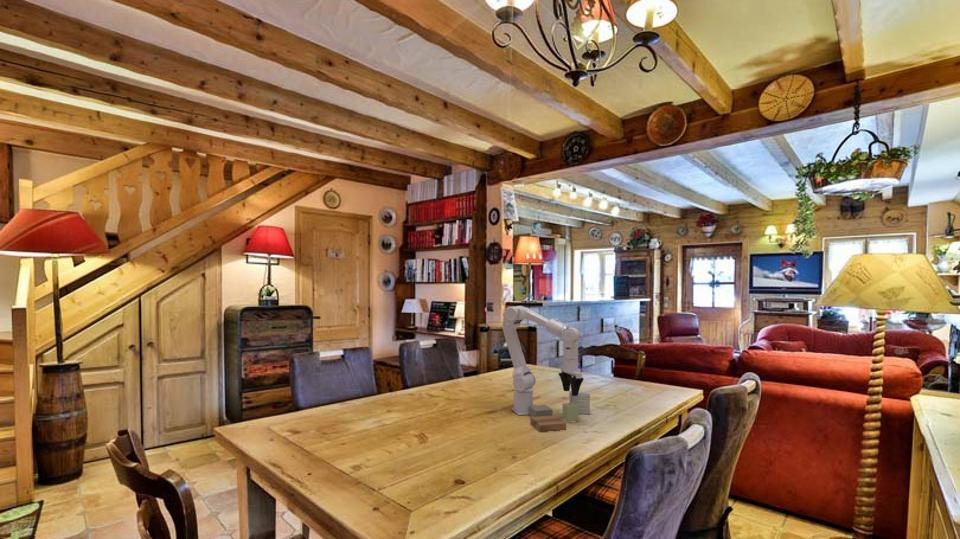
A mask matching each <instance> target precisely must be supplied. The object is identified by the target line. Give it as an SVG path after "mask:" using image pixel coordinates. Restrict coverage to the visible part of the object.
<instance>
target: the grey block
mask: <svg viewBox="0 0 960 539" xmlns="http://www.w3.org/2000/svg"><path fill="white" fill-rule="evenodd" d="M529 415H530V416H529ZM528 416H529V417H530V418H531V417H539V416H553V409H552V408H551V407H549V406H547V405H546V404H541V405H533V406H529V414H528Z"/></svg>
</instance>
